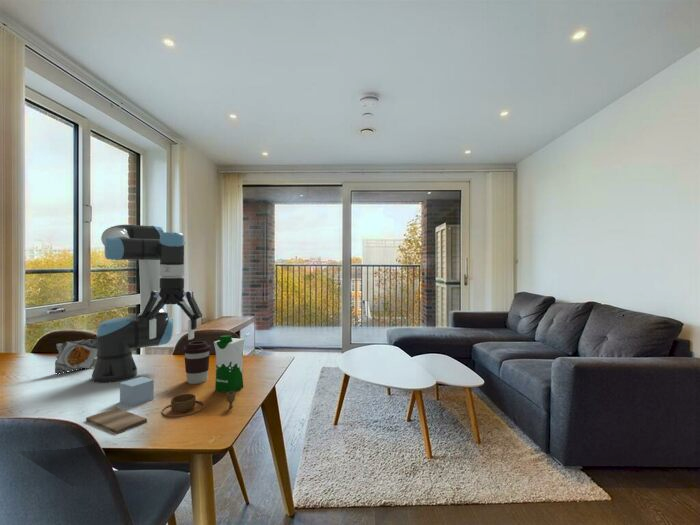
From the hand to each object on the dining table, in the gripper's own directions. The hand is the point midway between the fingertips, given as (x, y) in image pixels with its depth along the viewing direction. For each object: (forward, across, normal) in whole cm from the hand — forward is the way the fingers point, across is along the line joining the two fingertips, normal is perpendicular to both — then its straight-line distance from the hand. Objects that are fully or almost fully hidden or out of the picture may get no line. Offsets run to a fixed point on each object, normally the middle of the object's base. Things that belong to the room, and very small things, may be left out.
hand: (171, 338), depth 120 cm
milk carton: (+20, +18, +7) cm, 28 cm away
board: (+20, -4, -21) cm, 29 cm away
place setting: (+21, +14, -13) cm, 28 cm away
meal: (+21, -55, +25) cm, 64 cm away
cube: (+20, -9, -5) cm, 23 cm away
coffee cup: (+20, +2, +15) cm, 25 cm away
